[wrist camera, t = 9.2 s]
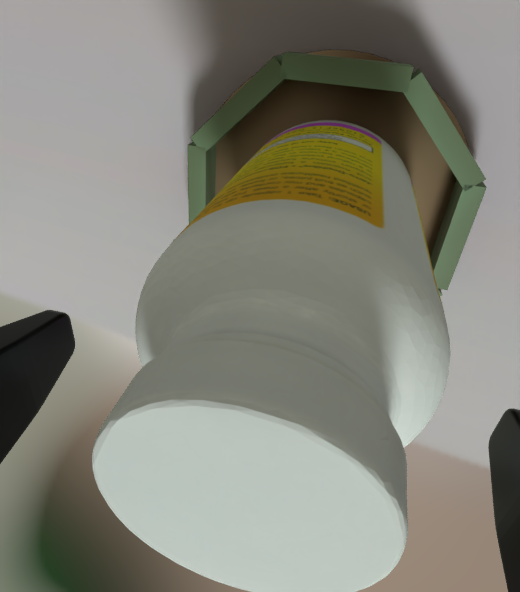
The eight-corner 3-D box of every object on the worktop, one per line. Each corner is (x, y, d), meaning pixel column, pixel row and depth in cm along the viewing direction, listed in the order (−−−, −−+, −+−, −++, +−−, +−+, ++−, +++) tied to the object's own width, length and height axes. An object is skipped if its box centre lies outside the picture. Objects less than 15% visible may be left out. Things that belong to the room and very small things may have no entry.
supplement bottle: (211, 188, 17) (-50, 435, 7) (347, 73, 14) (258, 197, 3) (308, 304, 19) (225, 641, 9) (448, 227, 16) (592, 617, 5)
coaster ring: (520, 67, 13) (539, 71, 12) (422, 332, 19) (426, 358, 18) (199, 35, 15) (179, 35, 13) (199, 289, 21) (186, 309, 19)
